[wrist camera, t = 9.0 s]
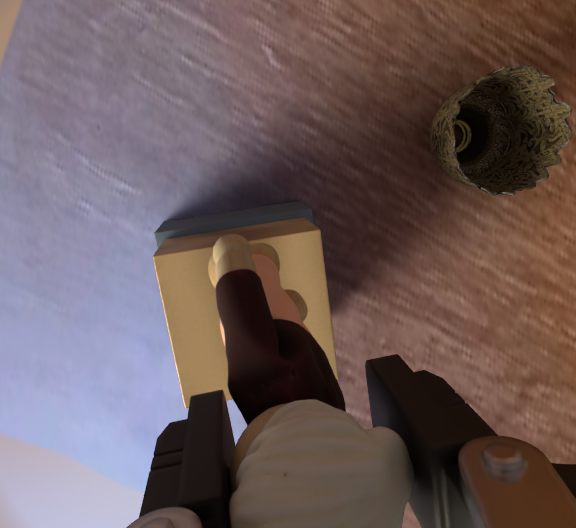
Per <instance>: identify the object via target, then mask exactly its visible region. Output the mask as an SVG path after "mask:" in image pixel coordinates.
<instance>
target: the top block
mask: <svg viewBox="0 0 576 528" xmlns="http://www.w3.org/2000/svg"><path fill="white" fill-rule="evenodd" d="M227 234H238V235H241V236H242V237H244V238H245V239H246V240H247V241H248V242H249V244H251V243H266V244H269V245H271V246H272V247H273V248H274V249H275V250H276V252H277V254H278V256H279V261H280V271H279V276H280V282H281V286H282V288H283V289H284V290H286V289H290V290H294V291H297V292H298V293H299V294H300V295H301V296H302V298H303V299H304V301H305V302H306V305H307V309H308V313H307V317H306V318H305V320H304V321H303V323H304V324H305V326H306V327H307V328H308V329H309V331H310V332H311V334H312V336H313V337H314V338H315V340H316V341H317V343H318V344H319V345H320V346H321V348H322V349H323V350H324V352H325V353H326V356H327V358H328V360H329V363H330V366H331V368H332V370H333V373H334V375H335V377H336V379H338V378H339V377H338V369H337V361H336V352H335V344H334V336H333V328H332V320H331V312H330V303H329V295H328V287H327V279H326V271H325V263H324V255H323V246H322V238H321V230H320V229H319V228H318V227H317V226H315V225H314V224H313V223H311V222H310V221H309V220H308V219H306V218H305V217H303V218H296V219H290V220H284V221H277V222H271V223H265V224H258V225H252V226H246V227H239V228H233V229H227V230H220V231H214V232H208V233H201V234H195V235H189V236H182V237H176V238H170V239H164V241H163V242H162V244H161V245H160V246H159V248H158V249H157V251H156V252H155V254H154V255H153V260H154V265H155V270H156V274H157V279H158V284H159V289H160V293H161V298H162V303H163V307H164V312H165V317H166V321H167V326H168V331H169V336H170V340H171V345H172V350H173V354H174V359H175V364H176V368H177V373H178V378H179V383H180V387H181V392H182V397H183V401H184V406H185V408H189V404H190V397H191V396H193V395H198V394H203V393H207V392H212V391H217V390H222V389H223V391H224V394H225V398H226V400H232V399H233V398H232V397H231V395H230V393H229V390H228V386H227V383H228V361H227V357H226V349H225V345H224V342H223V338H222V334H221V329H220V316H219V312H218V309H217V301H216V288H215V287H214V286H213V284H212V282H211V279H210V276H209V272H208V265H209V260H210V258H211V256H212V255H213V247H214V245H215V243H216V242H217V240H218V239H219V238H220V237H222V236H224V235H227Z"/></svg>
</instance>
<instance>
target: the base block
mask: <svg viewBox="0 0 576 528" xmlns="http://www.w3.org/2000/svg"><path fill="white" fill-rule="evenodd" d="M303 217H305V218H306V219H308V220H309V221H310V222H311V223H313V224H314V222H313V214H312V208H310V207H309V206H307V205H305V204H304V203H302V202H301V201H294V202H287V203H281V204H274V205H268V206H261V207H255V208H248V209H242V210H235V211H229V212H222V213H216V214H209V215H203V216H196V217H190V218H183V219H177V220H170V221H164V222H163V223H162V225H161V226H160V227H159V228H158V229H157V230H156V232H155V233H154V234H155V239H156V244H157V249H158V248H159V246H160V245H161V244H162V242H163V241H164V239H170V238H176V237H182V236H189V235H195V234H201V233H208V232H214V231H220V230H227V229H233V228H239V227H246V226H252V225H258V224H265V223H271V222H277V221H284V220H290V219H296V218H303Z"/></svg>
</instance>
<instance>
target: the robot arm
mask: <svg viewBox="0 0 576 528" xmlns="http://www.w3.org/2000/svg"><path fill="white" fill-rule="evenodd" d="M365 368H366V378H367V386H368V394H369V402H370V410H371V418H372V424H373V428H375V427H377V426H381V427H386V428H389V429H391V430H393V431H395V432H396V433H397V434H398V435H399V436H400V437H401V438H402V439H403V441H404V443H405V445H406V447H407V450H408V453H409V457H410V460H411V462H412V464H413V467H414V481H413V484H412V490H411V496H410V498H409V500H408V502H409V504H410V506H411V508H412V510H413V512H414V514H415V515H416V517H417V519H418V521H419V523H420V525H421V527H422V528H576V464H555V463H550V461H549V460H548V458H547V457H546V456H545V455H544V453H543V452H541V451H540V450H539V449H538V448H536V447H535V446H533V445H531V444H529V443H527V442H525V441H522V440H519V439H516V438H512V437H506V436H498V435H497V434H496V433H495V432H494V431H493V430H492V429H491V428H490V427H489V425H488V424H487V423H486V422H485V421H484V420H483V419H482V418H481V417H480V416H479V415H478V414H477V413H476V412H475V411H474V410H473V409H472V408H471V407H470V406H469V405H468V404H467V403H466V404H465V401H464V400H463V399H462V398H461V397H460V396H459V395H458V394H457V393H455V390H454V389H453V388H452V387H451V386H450V385H449V384H448V383H447V382H446V381H445V380H444V379H443V378H441V377H439V376H436V375H434V374H432V373H430V372H428V371H425V370H422V371H418V372H413V371H412V370H411V369H410V368H409V367H408V365H407V364H406V363H405V362H404V361H403V360H402V358H401V357H400V356H399V355H397V354H395V355H390V356H385V357H380V358H376V359H371V360H367V361H366V364H365ZM235 447H236V446H235V442H234V437H233V432H232V427H231V422H230V417H229V413H228V408H227V403H226V398H225V394H224V391H223V389H222V390H217V391H212V392H207V393H203V394H198V395H193V396H191V397H190V404H189V411H188V418H187V419H185V420H181V421H176V422H171V423H169V425H168V426H167V427H166V428H165V430H164V431H163V432H162V433H161V435H160V436H159V437H158V438H157V442H156V447H155V451H154V458H153V460H152V464H151V471H150V472H149V477H148V481H147V485H146V490H145V494H144V499H143V503H142V507H141V512H140V515H139V518H138V519H137V520H135V521H134V522H133V523H131V524H130V525H129V526H128V527H127V528H231V522H230V515H229V503H230V499H231V497H232V496H231V490H230V482H229V472H230V464H231V459H232V455H233V452H234V449H235Z"/></svg>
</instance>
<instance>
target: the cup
mask: <svg viewBox="0 0 576 528" xmlns="http://www.w3.org/2000/svg"><path fill="white" fill-rule="evenodd" d="M552 84H553V85H554V84H555V81H554V79H553V78H552V77H551V76H547V75H540V71H539V70H538V69H537V68H535V67H533V66H517V67H513V68H508V66H504V67H501V68H499V69H498V70H496V71H494V72H492V73H490V74H489V73H488V74H487V75H485V76H483V77H481V78H479V79H477V80H476V81H474V82H472V83H470V84H468V85H466V86H465V87H463V88H461V89H460V90H458V91H457V92H455V93H454V94H453V95H451V96H450V97H449V98H448V99H447V100H446V101H445V102H444V103H443V104H442V106H441V107H440V108H439V110H438V111H437V113H436V115H435V117H434V119H433V122H432V126H431V130H430V146H431V150H432V154H433V156H434V159H435V160H436V162H437V164H438V165H439V166H440V168H441V169H442V170H443V171H444V172H445V173H447V174H448V175H449V176H451V177H452V178H454V179H456V180H458V181H460V182H462V183H464V184H467V185H469V186H472V187H474V188H477V189H480V190H483V191H485V192H487V193H489V194H492V195H498V194H505V195H510V196H513V195H515V194H516V192H515V190H516V191H522V190H526V189H532V188H535V187H536V183H539V182H541V181H544V180H546V179H548V177H549V174H548V171H547V170H546V168H545V167H548V166H552V165H558V164H560V163H561V158H560V155H559V154H558V151H559V150H560V149H561V148H562V147H564V146H565V145H566V144H567V143H568V142H569V141H570V139H571V138H572V130H571V127H570V125H569V123H568V122H567V119H566V117H568V116H569V115H570V113H571V109H572V108H571V106H570V105H569V104H568V103H564V102H557V101H556V99H555V93H553V92H552V91H551V90H550V89H549V87H550V86H552ZM455 125H456V126H458V127H459V128H460V129H461V131H462V134H463V137H462V141H461V143H460V144H459V145H458V146H456V147H455V135H454V129H455ZM556 153H557V154H556ZM557 155H558V156H557Z"/></svg>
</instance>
